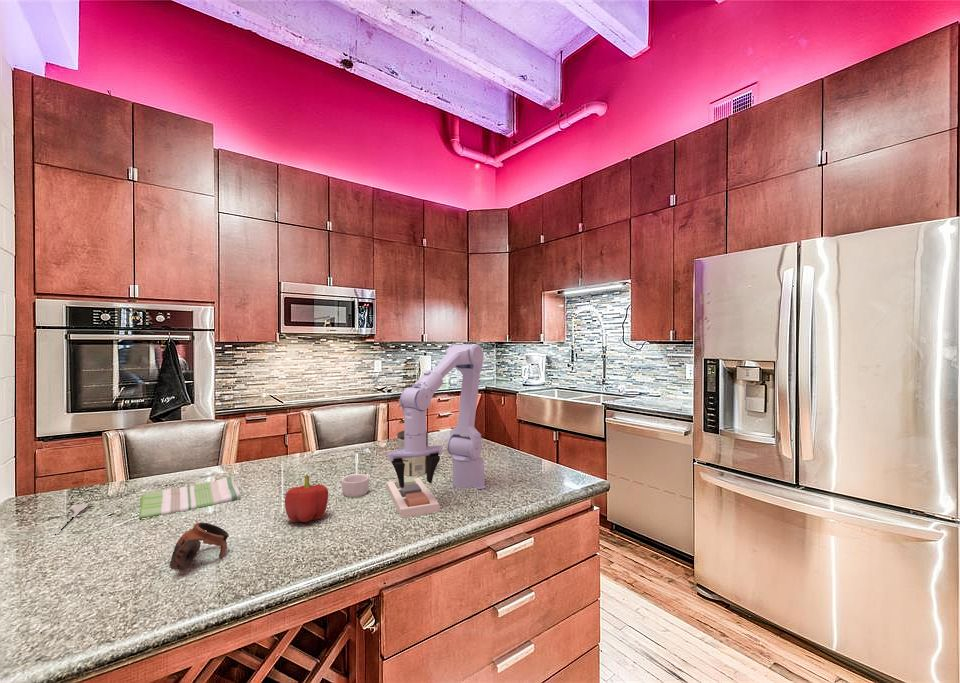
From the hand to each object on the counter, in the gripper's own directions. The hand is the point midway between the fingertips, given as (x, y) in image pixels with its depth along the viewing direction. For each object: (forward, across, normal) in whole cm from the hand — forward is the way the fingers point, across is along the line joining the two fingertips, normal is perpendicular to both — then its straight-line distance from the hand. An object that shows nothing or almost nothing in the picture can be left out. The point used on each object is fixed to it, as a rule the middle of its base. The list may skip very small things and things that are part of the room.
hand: (415, 484), depth 114 cm
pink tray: (+7, -1, -7) cm, 10 cm away
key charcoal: (+6, -1, -7) cm, 9 cm away
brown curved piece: (+8, +49, +3) cm, 49 cm away
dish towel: (+8, +55, -38) cm, 67 cm away
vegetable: (+8, +26, -9) cm, 29 cm away
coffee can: (+8, -9, -30) cm, 32 cm away
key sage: (+6, -1, -14) cm, 15 cm away
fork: (+8, +80, -37) cm, 89 cm away
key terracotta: (+6, 0, 0) cm, 6 cm away
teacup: (+8, +12, -20) cm, 25 cm away
